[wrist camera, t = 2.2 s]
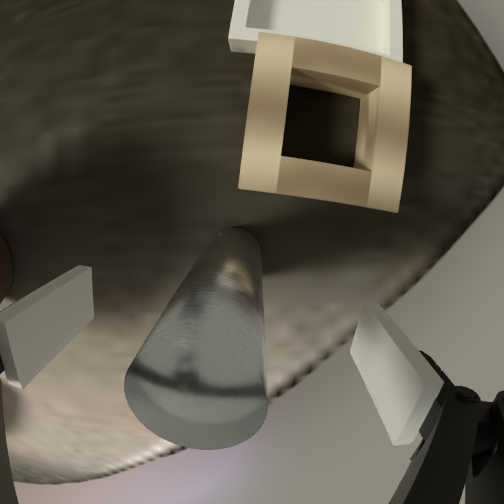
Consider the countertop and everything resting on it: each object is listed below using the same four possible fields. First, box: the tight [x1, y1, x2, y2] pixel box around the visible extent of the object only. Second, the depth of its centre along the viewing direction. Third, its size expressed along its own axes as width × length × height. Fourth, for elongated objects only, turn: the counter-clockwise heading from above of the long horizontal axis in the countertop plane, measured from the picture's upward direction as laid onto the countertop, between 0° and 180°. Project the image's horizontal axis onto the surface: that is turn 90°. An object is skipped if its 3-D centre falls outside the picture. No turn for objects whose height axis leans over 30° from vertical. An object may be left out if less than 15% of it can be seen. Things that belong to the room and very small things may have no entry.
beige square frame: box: [238, 32, 412, 213], centre depth 19 cm, size 10×10×4 cm
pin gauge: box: [124, 227, 268, 450], centre depth 15 cm, size 4×4×16 cm
